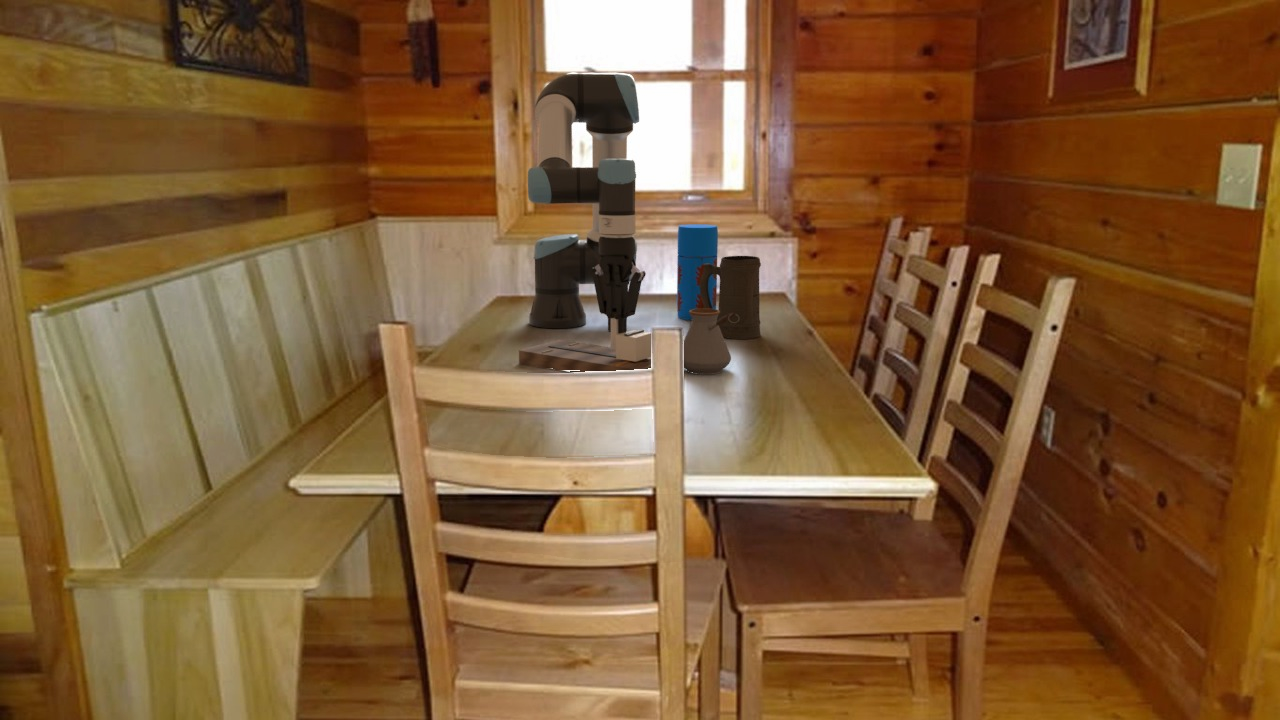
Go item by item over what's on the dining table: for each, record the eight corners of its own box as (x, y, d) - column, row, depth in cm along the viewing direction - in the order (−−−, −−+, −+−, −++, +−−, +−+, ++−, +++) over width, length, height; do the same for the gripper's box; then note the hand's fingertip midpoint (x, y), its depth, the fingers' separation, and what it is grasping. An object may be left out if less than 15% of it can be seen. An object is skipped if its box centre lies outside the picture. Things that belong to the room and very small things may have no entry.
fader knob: (616, 358, 194) (615, 332, 193) (632, 353, 199) (632, 328, 198) (635, 361, 191) (635, 335, 190) (652, 356, 196) (652, 331, 195)
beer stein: (762, 331, 240) (759, 253, 236) (764, 339, 230) (760, 258, 225) (702, 334, 242) (698, 256, 238) (701, 342, 231) (697, 261, 227)
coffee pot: (669, 366, 203) (669, 297, 199) (718, 362, 206) (719, 295, 203) (705, 390, 183) (707, 314, 180) (759, 386, 186) (762, 311, 183)
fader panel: (519, 363, 205) (518, 349, 204) (560, 352, 216) (559, 338, 215) (639, 384, 187) (639, 369, 186) (677, 371, 198) (677, 356, 197)
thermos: (721, 315, 263) (723, 225, 257) (707, 321, 254) (709, 228, 248) (685, 312, 267) (686, 224, 262) (670, 318, 258) (671, 226, 252)
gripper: (580, 235, 193) (581, 347, 198) (632, 238, 185) (632, 355, 191) (602, 232, 199) (603, 341, 204) (653, 235, 191) (653, 348, 197)
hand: (617, 348), depth 197 cm, fingers closed
